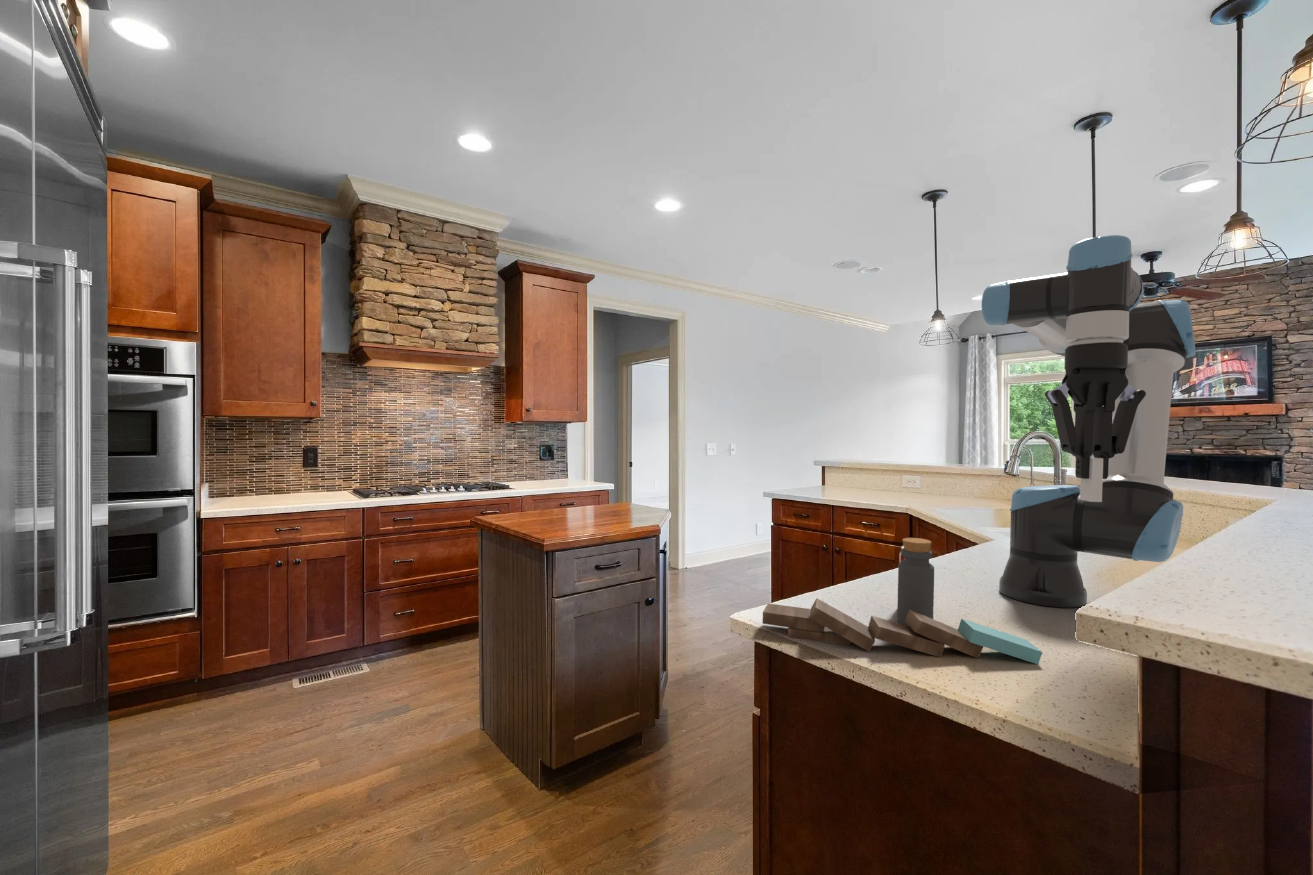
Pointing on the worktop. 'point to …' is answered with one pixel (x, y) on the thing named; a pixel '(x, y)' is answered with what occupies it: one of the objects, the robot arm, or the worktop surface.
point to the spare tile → (999, 641)
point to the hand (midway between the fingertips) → (1090, 500)
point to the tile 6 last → (817, 635)
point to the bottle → (915, 579)
